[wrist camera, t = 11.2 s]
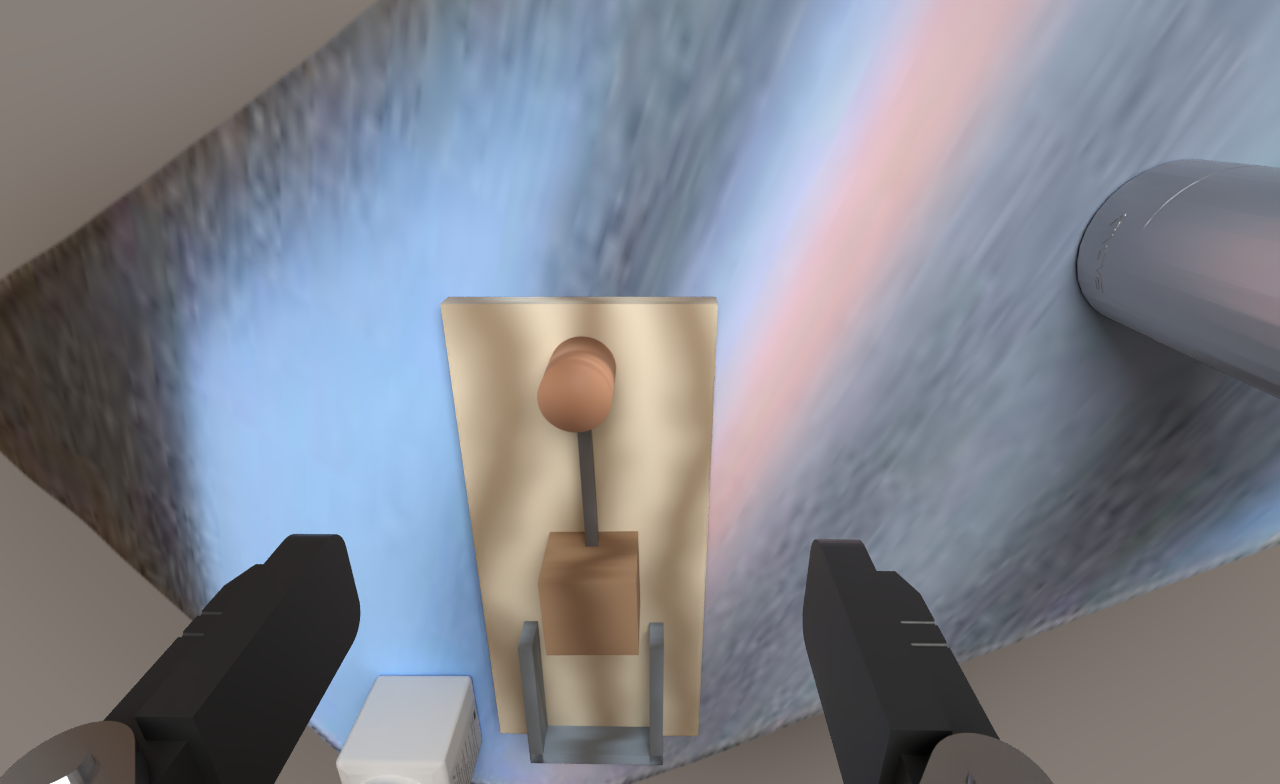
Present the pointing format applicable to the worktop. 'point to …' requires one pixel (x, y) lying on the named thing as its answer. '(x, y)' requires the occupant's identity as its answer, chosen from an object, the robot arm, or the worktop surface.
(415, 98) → the worktop surface
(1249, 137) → the worktop surface
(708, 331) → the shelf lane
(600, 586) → the wooden joystick
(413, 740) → the container
